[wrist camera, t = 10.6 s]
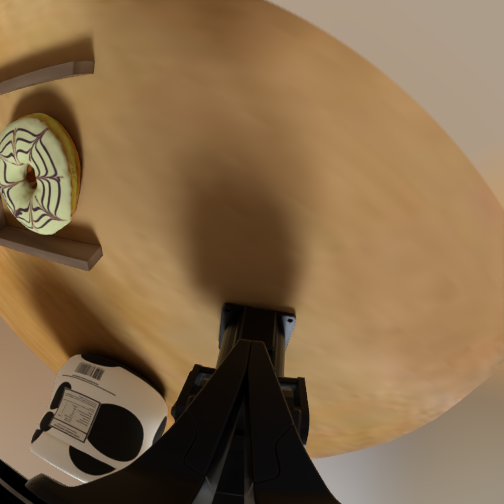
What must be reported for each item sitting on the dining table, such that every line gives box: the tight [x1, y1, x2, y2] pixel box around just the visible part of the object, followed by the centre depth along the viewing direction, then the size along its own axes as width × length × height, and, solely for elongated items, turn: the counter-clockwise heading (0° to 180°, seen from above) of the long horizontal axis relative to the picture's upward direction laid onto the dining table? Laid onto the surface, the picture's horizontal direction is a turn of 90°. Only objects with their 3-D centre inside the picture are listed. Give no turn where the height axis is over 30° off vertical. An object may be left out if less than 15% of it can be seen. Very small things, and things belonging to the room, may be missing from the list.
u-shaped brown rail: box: [0, 61, 103, 271], centre depth 18 cm, size 17×16×2 cm
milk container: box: [29, 354, 167, 483], centre depth 29 cm, size 17×17×18 cm
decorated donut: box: [0, 113, 81, 235], centre depth 18 cm, size 10×11×4 cm
